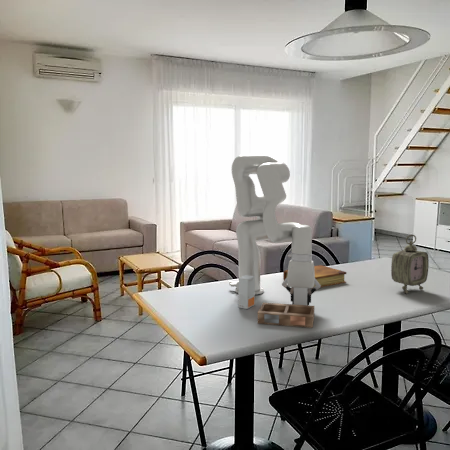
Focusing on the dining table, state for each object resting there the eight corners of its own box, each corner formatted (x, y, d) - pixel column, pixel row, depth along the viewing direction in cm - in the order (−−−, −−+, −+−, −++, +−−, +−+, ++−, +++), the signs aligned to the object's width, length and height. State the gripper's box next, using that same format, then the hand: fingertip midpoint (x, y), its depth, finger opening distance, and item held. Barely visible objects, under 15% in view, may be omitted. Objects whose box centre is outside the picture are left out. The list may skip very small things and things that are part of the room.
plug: (293, 311, 169) (293, 282, 167) (294, 307, 173) (295, 279, 172) (306, 312, 167) (307, 283, 166) (307, 308, 172) (308, 280, 171)
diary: (319, 275, 226) (319, 264, 225) (346, 283, 210) (346, 272, 209) (283, 281, 214) (283, 269, 214) (308, 290, 198) (308, 277, 197)
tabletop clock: (406, 295, 188) (409, 237, 184) (388, 290, 195) (391, 234, 192) (427, 290, 195) (430, 234, 192) (409, 285, 203) (411, 232, 200)
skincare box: (247, 309, 171) (247, 279, 169) (238, 307, 173) (238, 277, 172) (255, 305, 176) (255, 276, 174) (245, 303, 178) (245, 274, 177)
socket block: (257, 323, 155) (257, 312, 154) (263, 312, 167) (263, 302, 166) (312, 328, 150) (312, 316, 150) (314, 316, 162) (314, 305, 162)
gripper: (277, 258, 166) (277, 305, 169) (324, 260, 162) (323, 308, 164) (280, 254, 173) (279, 299, 176) (324, 256, 169) (323, 302, 172)
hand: (300, 303), depth 170 cm, fingers closed on plug, 4 cm apart
